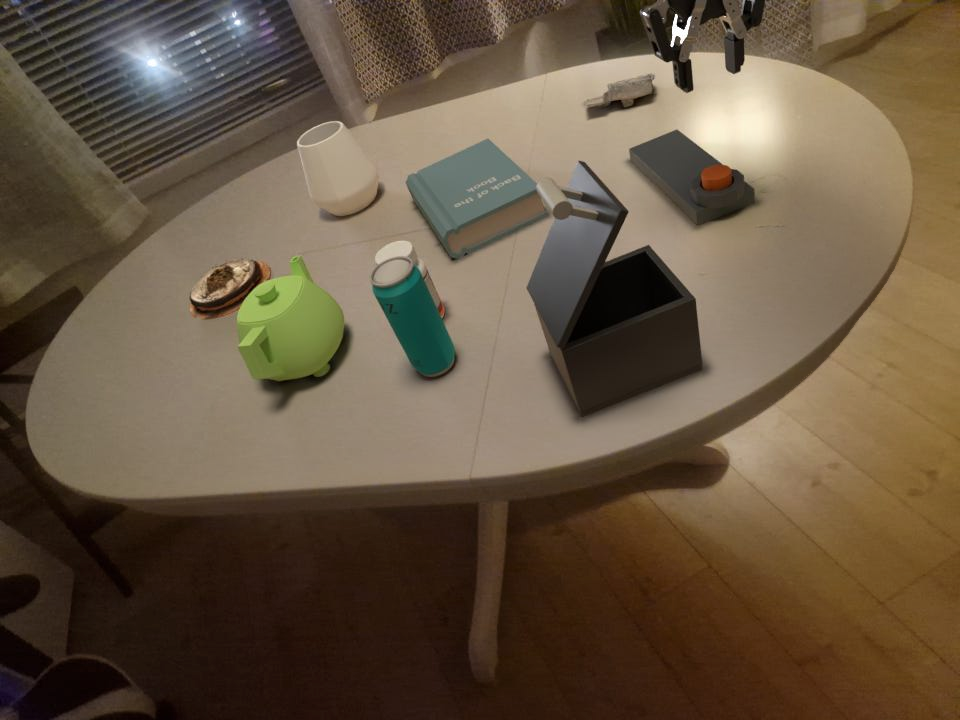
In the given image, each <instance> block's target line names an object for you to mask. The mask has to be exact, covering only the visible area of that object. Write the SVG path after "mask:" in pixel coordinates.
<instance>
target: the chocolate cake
mask: <svg viewBox="0 0 960 720" xmlns="http://www.w3.org/2000/svg"><path fill="white" fill-rule="evenodd" d="M270 279H271V267H270V266H269V265H268V263H266V262H263V261H260V260H254V259H253V258H249V257H248V258H247V259H245V258H243V257H240V258H239V257H238V258H237V257H236V258H233V259H227V260H225V263H222V264H219V265H218V266H217V263H216V264H215V265H214V266H212V267H211V268H210V269H208V271H206V272H205V273H204V274H202V275H201V276H200V277H199V278H198V279H197V281H196V282H195V284H194V285H193V287H192V289H191V290H190V293H189V297H188V299H189V302H190V305H189V310H190V313H191V315H192V316H193V317H195V318H197V319H199V320H213V319H217V318H220V317H221V318H222V317H224V316H226V315H228V314H231V313H233V312H235V311H237V310H239V309H240V307H241V305H242V303H243V301H244V300H245V299H246V297H247V296H248V295H249V294H250V293H251V291H252V290H253V289H255V288H256V287H257V286H258V285H260V284H261V283H263V282H265V281H267V280H270Z"/></svg>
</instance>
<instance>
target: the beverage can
mask: <svg viewBox="0 0 960 720" xmlns="http://www.w3.org/2000/svg"><path fill="white" fill-rule="evenodd" d="M369 282H370V284H371V290H372V293H373V295H374V297H375V299H376V301H377V303H378V304H379V306H380V308H381V310H382V313H383V314H384V316H385V318H386V319H387V321H388V323H389V326H390V327H391V329H392V331H393V333H394V334H395V336H396V338H397V340H398V342H399V344H400V346H401V348H402V350H403V352H404V354H405V355H406V357H407V359H408V361H409V363H410V365H411V366H412V368H413V369H414V370H415V371H416V372H419V373H420V374H421V375H422V376H425V377H429V378H436V377H439V376H442V375H443V374H445V373H447V372H448V371H449V370H450V369H451V368H452V367H453V365H454V363H455V357H456V355H455V353H456V351H455V345H454V342H453V339H452V338H451V336H450V334H449V331H448V329H447V327H446V325H445V323H444V320H443V318H441V316H440V314H439V311H438V309H437V307H436V305H435V303H434V301H433V298H432V296H431V294H430V292H429V290H428V287H427V285H426V283H425V281H424V279H423V276H422V274H421V272H420V270H419V268H417V267H416V266H415V265H414V264H413V261H412V260H411V259H410V258H409V257H406V256H396V257H392V258H389V259H387V260H385V261H383V262H381V263H380V264H378V265H377V264H376V266H375V267H374V268H373V269H372V270H371V271H370V274H369Z"/></svg>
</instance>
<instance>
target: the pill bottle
mask: <svg viewBox="0 0 960 720" xmlns="http://www.w3.org/2000/svg"><path fill="white" fill-rule="evenodd" d="M396 256H406V257H409V258H410V259H411V260H412V261H413V264H414V265H415V266H416V267H417V268H419V270H420V272H421V274H422V276H423V279H424V281H425V283H426V285H427V287H428V290H429V292H430V294H431V296H432V298H433V301H434V303H435V305H436V307H437V309H438V311H439V314H440V316H441V318H442V319H444V315H445V307H444V304H443V302H442V299H441V297H440V295H439V293H438V291H437V289H436V286H435V283H434V281H433V279H432V277H431V275H430V272H429V270H428V267H427V265H426V263H425V262H424V260H423V259H421V258H420V257H419V256H418V253H417V251H416V250H415V248H414V245H413V244H412V242H410V241H408V240H397V241H392V242H391V243H388V244H386V245H384V246H383V247H382V248H380V249H379V250H378V251H377V253H376V254H375V256H374V262H375V264H376V266H377V265H378V264H380V263H381V262H383V261H385V260H387V259H389V258H392V257H396Z"/></svg>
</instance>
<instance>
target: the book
mask: <svg viewBox="0 0 960 720" xmlns="http://www.w3.org/2000/svg"><path fill="white" fill-rule="evenodd" d="M537 183H538V182H536V181H535V180H534V179H533V178H532V177H531V176H530V175H529V174H528V173H526V171H524V170H523V169H522V168H521V167H520V166H519V165H517V164H516V162H515V161H514V160H512V158H510V157H509V156H508V155H507V154H506V153H505V152H503V150H502V149H500V147H499V146H497V144H495V143H494V142H493V141H492V140H491V139H489V138H486V139H484V140H482V141H479V142H477V143H474V144H473V145H470V146H468V147H466V148H465V149H461V150H460V151H458V152H455V153H453V154H451V155H449V156H447V157H445V158H443V159H440V160H438V161H436V162H433V163H432V164H429V165H427V166H426V167H424V168H421V169H419V170H417V172H416V173H414V172H413V173H410V174H409V175H408V176H407V178H406V180H405V185H406V187H407V190H408V192H409V194H410V197H411V199H412V201H413V202H414V203H415V205H416V206H417V208H418V209H419V211H420V212H421V214H422V216H423V217H424V219H425V220H426V222H427V223H428V225H429V227H430V228H431V230H432V231H433V232H434V234H435V235H436V237H437V239H438V240H439V242H440V243H441V245H442V246H443V248H444V250H445V251H446V253H447V254H448V256H449V257H450V258H453V259H457V260H459V259H461V258H463V257H465V254H471V253H473V252H475V251H478V250H479V249H481V248H483V247H484V248H485V247H486V246H488V245H490V244H492V243H495V242H497V241H498V240H500V239H504V238H505V237H507V236H509V235H511V234H514V233H515V232H518V231H520V230H521V229H523V228H525V227H527V226H530V225H532V224H534V223H536V222H538V221H540V220H542V219H545V218H546V217H548V216H549V212H548V211H547V210H546V209H545V208H544V203H543V200H542V198H541V197H540V196H539V194H538V193H537V190H536V186H537Z"/></svg>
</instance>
